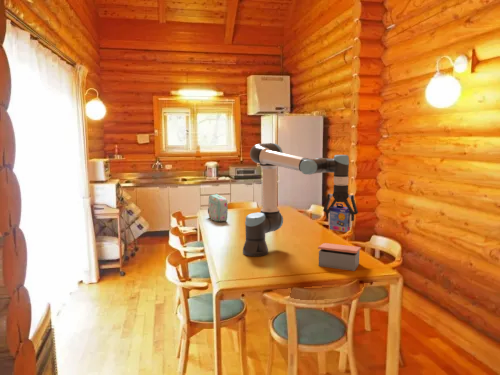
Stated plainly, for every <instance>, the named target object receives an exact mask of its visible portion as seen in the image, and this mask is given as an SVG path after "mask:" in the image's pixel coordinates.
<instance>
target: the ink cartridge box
mask: <svg viewBox="0 0 500 375" xmlns="http://www.w3.org/2000/svg"><path fill="white" fill-rule="evenodd" d="M329 207H330V206H329ZM350 214H351V213H350V211H349V209H348V208H347V206H344V204H343V203H340V202H336V203H335V205H334V206H333V207H330V225H329V230H332V231H339V232H343V233H347V232H350V231H351V227H350Z"/></svg>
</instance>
